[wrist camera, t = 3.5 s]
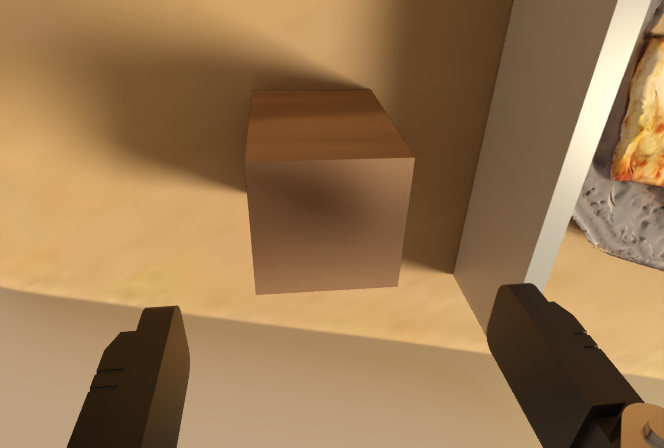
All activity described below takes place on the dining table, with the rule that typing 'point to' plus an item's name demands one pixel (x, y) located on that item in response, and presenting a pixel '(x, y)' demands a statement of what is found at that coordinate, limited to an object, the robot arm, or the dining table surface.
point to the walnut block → (325, 191)
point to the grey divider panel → (541, 138)
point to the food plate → (631, 160)
